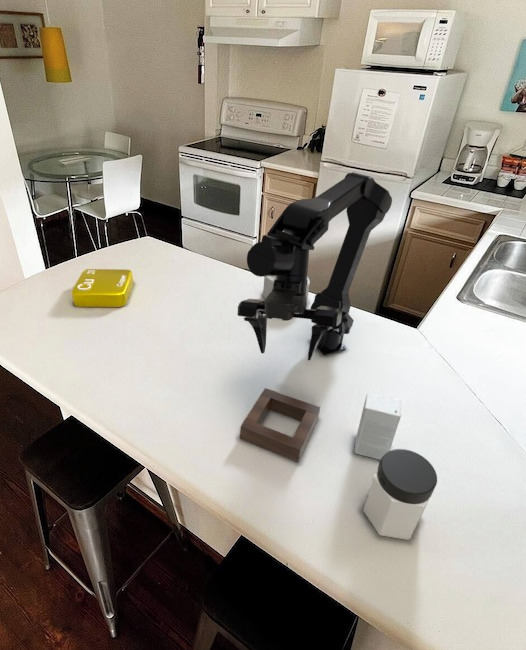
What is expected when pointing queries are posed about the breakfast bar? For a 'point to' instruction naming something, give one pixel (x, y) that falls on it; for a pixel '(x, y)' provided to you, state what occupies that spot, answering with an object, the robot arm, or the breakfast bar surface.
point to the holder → (274, 439)
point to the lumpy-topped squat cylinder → (270, 281)
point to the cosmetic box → (377, 426)
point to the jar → (400, 493)
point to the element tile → (103, 288)
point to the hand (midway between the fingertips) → (285, 356)
